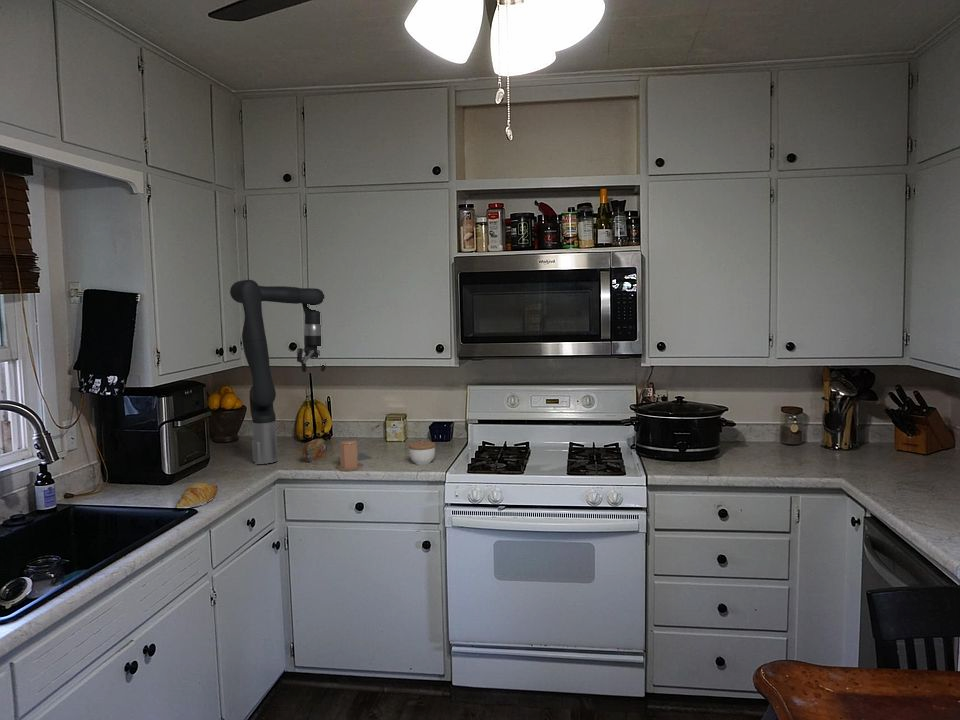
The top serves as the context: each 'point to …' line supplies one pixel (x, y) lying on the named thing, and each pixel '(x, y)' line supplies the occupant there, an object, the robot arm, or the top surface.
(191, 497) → the croissant
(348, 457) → the salmon orange block
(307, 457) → the mottled brown slab
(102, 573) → the top surface
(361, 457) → the mat
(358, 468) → the pot lid
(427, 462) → the lidded jar
